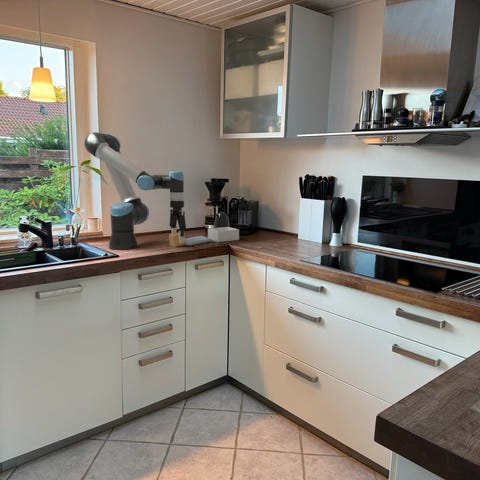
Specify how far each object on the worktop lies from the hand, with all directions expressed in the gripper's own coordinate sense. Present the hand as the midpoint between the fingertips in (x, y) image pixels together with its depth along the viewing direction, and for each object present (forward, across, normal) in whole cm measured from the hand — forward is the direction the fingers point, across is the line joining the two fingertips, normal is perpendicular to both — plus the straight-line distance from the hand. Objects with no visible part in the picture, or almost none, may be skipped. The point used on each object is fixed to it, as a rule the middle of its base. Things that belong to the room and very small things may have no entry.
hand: (177, 241), depth 241 cm
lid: (+2, 0, -7) cm, 8 cm away
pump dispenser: (+3, +16, -37) cm, 40 cm away
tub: (+3, 0, -29) cm, 29 cm away
